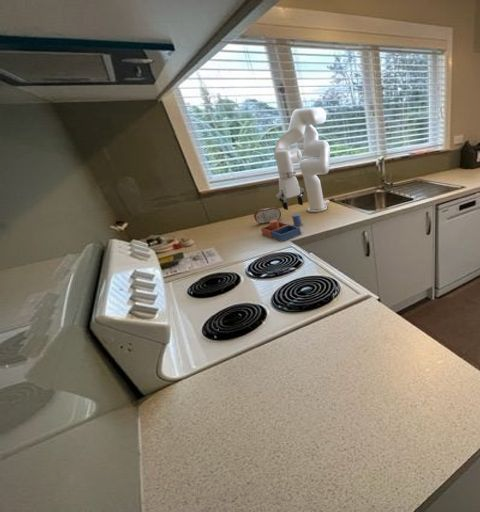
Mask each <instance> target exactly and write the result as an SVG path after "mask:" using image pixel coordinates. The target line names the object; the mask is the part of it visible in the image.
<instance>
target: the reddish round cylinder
mask: <svg viewBox="0 0 480 512" xmlns="http://www.w3.org/2000/svg"><path fill="white" fill-rule="evenodd" d="M279 222H280V221H279V220H272V221H270V222H268V223H269V225H270V226H271V230H275V229H278V228H280V227H279Z"/></svg>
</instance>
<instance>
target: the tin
mask: <svg viewBox="0 0 480 512" xmlns="http://www.w3.org/2000/svg"><path fill="white" fill-rule="evenodd" d="M281 217H282V212H281V210H280V209H279V207H277V206H269V207H264V208H259V209H257V210H255V212H254V214H253V218H254V220H255V221H256V222H257V223H258V224H261V225H263V224H264V225H265V224H268V223H269V222H270V221H272V220H278V221H279V220H280V219H281Z"/></svg>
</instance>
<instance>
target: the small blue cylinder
mask: <svg viewBox="0 0 480 512" xmlns="http://www.w3.org/2000/svg"><path fill="white" fill-rule="evenodd" d="M291 218H292V222H293V226H296V227H301V226H302V225H303V222H302V217H301V214H300V213H294V214H292V215H291Z"/></svg>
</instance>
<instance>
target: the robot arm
mask: <svg viewBox="0 0 480 512" xmlns="http://www.w3.org/2000/svg"><path fill="white" fill-rule="evenodd" d="M326 120H327V113H326V111H325V110H324V108H323V107H307V108H297V109H294V110H293V111H292V113H291V117H290V120H289V125H288V128H287V131H285V132H284V133H283V134H282V135H281V136H280V137H279V138H278V140H277V141H276V143H275V147H274V151H273V157H274V159H275V162H276V165H277V166H276V167H277V170H278V174H279V175H278V177H279V179H278V193H277V194H276V195H275V197H276V199H277V200H278V201H279V202H280V203H281V204H282V209H283V210H284V211H285V210H286V211H288V210H289V206H288V203H287V199H290V198H293V197H297V204H298V205H299V206H304V201H303V196H304V194H305V192H306V197H307V201H308V202H307V203H308V207H307V209H306V210H307V212H310V213H319V212H320V213H321V212H323V211H324V212H325V211H326V210H327V209H328V206H327V205H328V204H330V200H329V199H327V200H324V194H323V189H322V183H321V179H320V178H319V175H321V176H322V175H328V173H329V171H330V165H331V164H330V162H331V148H330V144H329V143H328V141H326V140H323V139H320V140H319V132H318V130H317V129H316V128H315V127H314V126H315V125H321V124H324V123H325V122H326ZM302 139H303V153H302V151H301V149H299V148H297V147H290V146H291V145H293V144H296V143H298V142H299V141H301V140H302ZM303 154H304V156H305V157H307V158H304V159H303ZM297 163H299V169H300V172H301V175H302V177H303V182H304V187H305V188H304V187H301V186H300V184H299V181H298V179H297V177H296V174H297V173H296V171H295V170H294V165H293V164H297Z"/></svg>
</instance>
